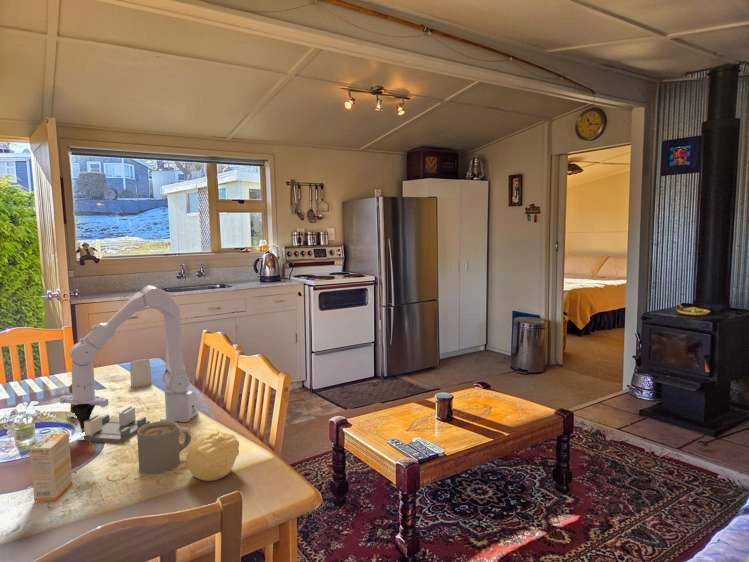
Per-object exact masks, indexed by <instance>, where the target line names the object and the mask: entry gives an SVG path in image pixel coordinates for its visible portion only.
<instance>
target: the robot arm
mask: <svg viewBox="0 0 749 562" xmlns="http://www.w3.org/2000/svg"><path fill="white" fill-rule="evenodd" d="M148 308H151V309H153V310H157V311H158V312H159V313H161V314H162V315H163V327H164V329H163V330H164V342H165V358H166V360H165V361H166V363H165V364H164V367H165V368H164V373H163V375H162V381H163V383H164V384H165V385H166V386H165V389H164V403H165V404H164V408H165V415H164V416H162V417H161V418H160V419H159V421H173V422H177V421H179V422H178V423H188V422H190V421H191V420H192V419H193V418H195V417H196V416H197V415H199V414H200V412H199V411H198V410H199V409H198V395H197V393H196V392H195V391H193V390H190V389H189V387H190V378H189V376H188V375H187V370H186V367H185V363H184V358H183V357H184V356H183V341H182V339H183V337H182V323H181V322H182V321H181V309H180V307H179V305H178V304H177V303H176V301H175V300H174V299H173V298H172V297H171V294H170V293H168V291H165V290H163V289H161V288H158V287H157V286H155V285H146V286H144V287H142V288H141V289H140V291H137V292H136V293H135V294H134V295H133V296H131V297H130V299H128V301H127V302H126V303H124V305H122V306H121V307H120V308H119V310H118V311H117V312H115V314H113V316H112V317H111V318H109V319H108V321H107V322H100V323H98V324H97V325H96V324H93V326H92V327H91V329H92V330H91V331H89V333H87V335H85V336H84V337H83V338H82V337H81V338H79V340H78V342H76V343H74V344H73V345H72V346H71V348H70V351H69V352H68V353H69V356H70V358H71V384H72V393H71V394H64V395H62V396H59V403H60V404H71V403H72V404H73V405H74V407H72V411H73V412H74V413H75V415H76V416H77V418H76V419H77V420H78V423H79V427H80V429H81V428H84V422H85V421H87V420H88V419H90V418H91V415H92V412H93V411H94V408H95V407H96V406H99V407H100V408H105V407H107V406H109V398H105V397H101V396H98V395H96V391H95V388H96V387H95V367H94V362H93V361H94V360H95V358H96V354H97V353H98V352H100V351H101V350H102V349H103V348H104V347H105V346H106V345H107V344H108V343H110V342H111V340H113V339H114V337H116V330H117V329H118V328H119V327H120V326H122V324H124V323H125V322H126V321H127V320H128V319H130V318H131V317H132V316H133V315H134V314H135V313H137V312H141V311H147V310H148ZM72 394H73V395H72ZM198 413H199V414H198ZM196 414H197V415H196ZM195 415H196V416H195ZM194 416H195V417H194ZM191 418H192V419H191ZM190 419H191V420H190ZM187 421H188V422H187Z"/></svg>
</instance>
